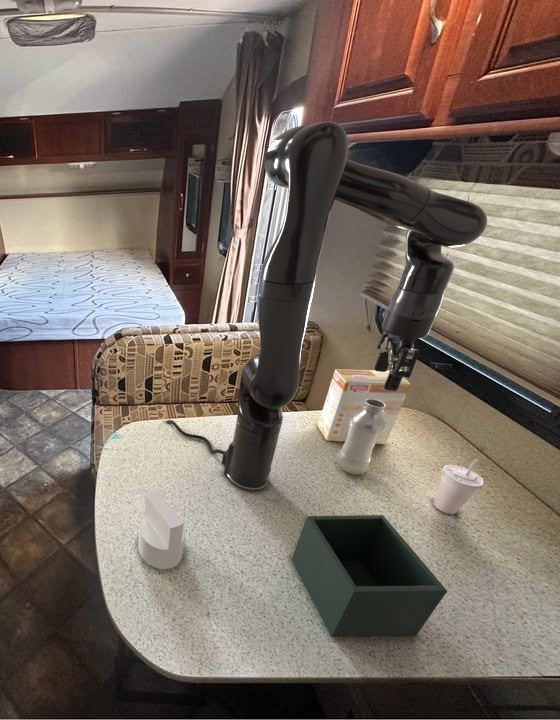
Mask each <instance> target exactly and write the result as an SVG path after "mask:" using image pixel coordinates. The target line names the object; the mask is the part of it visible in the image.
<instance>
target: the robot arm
mask: <svg viewBox="0 0 560 720" xmlns="http://www.w3.org/2000/svg"><path fill="white" fill-rule="evenodd" d="M348 138H349V137H348V134H347V132H346V131H345V129H344V127H342V125H340V124H339V123H337V122H336V121H330V120H328V121H319V122H315V123H309V124H303V125H299V126H295V127H292V128H290V129H287V130H285V131H284V132H282V133H280V134H279V135H278V136H277V137H276V138H274V139H273V141H272V142H271V143H270V145H269V147H268V148H267V150H266V153H265V157H264V169H265V173H266V175H267V177H268V178H269V180H270V181H271V182H272V183H273V184H275V185H277V186H279V187H282V188H284V189H287V198H286V205H285V212H284V217H283V221H282V225H281V227H280V230H279V232H278V234H277V236H276V238H275V240H274V241H273V243H272V245H271V246H270V249H269V251H268V252H267V254H266V255H265V258H264V260H263V261H262V265H261V269H260V273H259V281H258V287H257V288H258V289H257V297H256V309H257V311H256V312H257V321H258V329H259V330H258V331H259V338H260V348H259V350H260V351H259V353H258V354H255V355H254V356H252V357H251V358H249V359H248V361H247V362H246V363H245V365H244V366H243V369H242V371H241V375H240V382H239V388H238V395H237V417H236V423H235V428H234V433H233V438H232V442H231V443H230V444H228V448H227V449H226V451H225V450H222V449H218V448H215V449H214V448H213V446H212V444H211V442H210V440H209V439H207V437H205V436H202V435H199V434H191V433H188V432H186V431H184V430H183V429H182V428H181V427H180V426H179V425H178V424H177V423H176V422H175V421H174V420H172V419H168V420H166V421H165V423H166V424H171V425H173V426H174V428H175V429H176V430H177V431H178V432H179V434H181V435H182V436H184V437H187V438H191V439H198V440H202V441H204V442H205V443H206V445H207V448H208V450H209V452H210V453H211V454H212V455H213V454H214V455H215V454H220V455H222V458H221V465H223V466H224V471H223V475H224V476H225V477H227V479H228V481H230V482H231V484H233V485H234V486H235V487H237V488H239V489H241V490H244V491H248V492H259V491H261V490H263V489H265V488H266V487H267V485H268V481H269V477H270V475H271V471H272V470H271V469H272V463H273V460H274V456H275V452H276V449H277V445H278V441H279V437H280V433H281V429H282V426H283V422H284V414H283V409H282V408H283V407H285V406H287V405H288V404H290V403H291V401H293V399H294V398H295V396H296V395H297V393H298V389H299V383H300V382H299V381H300V366H301V355H302V346H303V342H304V337H305V333H306V328H307V324H308V320H309V319H308V318H309V314H310V310H311V304H312V301H313V297H314V293H315V288H316V282H317V278H318V271H319V265H320V260H321V255H322V251H323V246H324V242H325V241H324V240H325V237H326V234H327V233H326V232H327V227H328V223H329V220H330V216H331V213H332V209H333V206H334V203H335V201H336V202H339V203H341V204H343V205H346V206H348V207H350V208H352V209H354V210H357V211H358V212H360V213H363V214H365V215H367V216H369V217H371V218H373V219H376V220H378V221H380V222H382V223H384V224H387V225H389V226H391V227H394V228H397V229H402V230H406V237H405V251H404V262H405V263H404V268H403V270H402V273H401V276H400V279H399V282H398V284H397V287H396V289H395V290H394V292H393V294H392V297H391V299H390V302H389V304H388V307H387V310H386V313H385V316H384V319H383V322H382V324H381V329H382V330H383V331H382V332H381V336H380V338H379V341H378V343H377V346H376V349H377V350H378V351H377V355H378V357H377V360H376V362H375V365H374V367H373V368H374V370H375V371H380V372H386V371H389V372H390V373H389V374H388V377H387V380H386V382H385V385H384V388H385V389H386V390H391V391H397V390H398V387H399V385H400V383H401V380H402V378H405V379H409V378H410V377H411V375H412V373H413V371H414V368H415V365H416V363H417V361H418V358H419V355H420V350H419V349H415V344H414V343H415V341H416V340H418V339H419V340H420V339H424V338H426V337H428V335H429V334H430V331H431V329H432V326H433V324H434V321H435V319H436V317H437V315H438V313H439V310H440V308H441V306H442V302H443V299H444V295H445V292H446V290H447V287H448V284H449V283H450V280H451V278H452V275H453V273H454V269H455V263H454V262H453V261H452V260H451V259H449V258H447V257H446V256H444V255H443V252H442V247H445V248H446V247H447V248H458V247H459V248H460V247H463V246H466V245H469V244H471V243H473V242H475V241H476V240H477V239H479V238H480V237H481V236H482V235H483V233H484V232H485V230H486V228H487V225H488V216H487V213H486V212H485V210H484V209H483V208H482V207H481V206H479V205H478V204H475V203H473V202H470V201H468V200H464V199H461V198H458V197H454V196H451V195H447V194H443V193H440V192H437V191H434V190H432V189H431V188H430V187H427V186H426V185H423V184H421V183H419V182H417V181H415V180H413V179H411V178H408V177H407V176H404V175H401V174H398V173H395V172H393V171H388V170H385V169H380V168H377V167H373V166H369V165H365V164H362V163H359V162H357V161H353V160H352V159H351V160H350V159H348V154H349V139H348ZM388 368H389V370H388Z"/></svg>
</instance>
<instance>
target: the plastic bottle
mask: <svg viewBox="0 0 560 720" xmlns="http://www.w3.org/2000/svg"><path fill="white" fill-rule="evenodd" d="M362 408H363V409H361V410H359V411H357V412H355V413H354V414H353V415H352V416H351V419H350V426H349V432H348V436H347V439H346V441H345V442H344V443H343V445H342V446H341V448H340V449H339V451H338V453H337V455H336V464H337V465H338V467H339V468H340V469H341V470H342V471H344V472H346V473H348V474H351V475H362V474H365V473H366V472H367V471H368V470H369V468H370V464H371V457H372V453H373V449H374V447H375V445H376V444H375V443H376V441H377V439H378V437H379V436H380V434H381V433H382V432H383V430H384V428H385V421H384V419H383V417H382V415H381V414H382V413H383V412H384V408H385V404H384V403H383V402H381V401H379V400H375V399H367V400H366V401H365V403H364V404H363V406H362Z"/></svg>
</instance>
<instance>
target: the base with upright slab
mask: <svg viewBox="0 0 560 720" xmlns="http://www.w3.org/2000/svg"><path fill="white" fill-rule="evenodd" d="M144 498H145V499H144V515H143V516H142V517H141V519H140V522H139V527H138V552H139V554H140V556H141V558H142V559H143V561H144V562H145V563H146V564H148V565H149V566H150V567H153V568H155V569H159V570H169V569H173V568H175V567H176V566H178V565H179V564H180V562H181V561H182V559H183V556H184V548H185V542H186V541H185V540H186V529H185V526H184V525H185V521H184V520H183V519H182V518H181V516H180V515H179V514H178V513H177V511H176V510H175V509H174V508H173V506H172V505H171V504H170V503H169V501H168V500H167V499H166V498H165V497H164V495H163V494H162V493H161V492H160V491H159V490H158V489H155V490H152V491H150V492H148V493H146V494H145V496H144Z"/></svg>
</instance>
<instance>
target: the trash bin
mask: <svg viewBox="0 0 560 720" xmlns="http://www.w3.org/2000/svg"><path fill="white" fill-rule="evenodd" d="M291 562H292V563H293V566H294V567H295V569H296V571H297V573H298V575H299V577H300V579H301V582H302V583H303V585H304V587H305V589H306V590H307V593H308V594H309V596H310V598H311V600H312V602H313V604H314V606H315V608H316V610H317V612H318V614H319V615H320V618H321V619H322V621H323V623H324V625H325V628H326V629H327V631H328V633H329V635H330V636H331V638H332V637H333V638H337V637H340V638H342V637H343V638H344V637H347V638H349V637H351V638H352V637H353V638H355V637H357V638H358V637H359V638H360V637H369V638H371V637H373V638H374V637H376V638H379V637H381V638H382V637H405V638H406V637H409V638H410V637H417V636H418V634H419V633H420V631H421V630H422V628H423V627H424V625H425V624H426V623H427V622H428V620H429V618H430V617H431V616H432V614H433V613H434V611H435V610H436V608H437V607H438V606H439V604H440V603H441V602H442V600H443V598H444V597H445V595H446V594H447V593H448V590H447V588H446V587H445V586H444V585H443V583H441V581H440V580H439V579H438V578H437V577H436V575H435V574H434V573H433V572H432V571H431V570H430V568H429V567H428V566H427V565H426V564H425V562H424V561H423V560H422V559H421V558H420V557H419V556H418V554H417V553H416V551H414V550H413V549H412V547H411V546H410V545H409V544H408V542H407V541H406V540H405V539H404V538H403V536H402V535H401V533H399V532H398V530H397V529H396V528H395V527H394V526H393V525H392V524H391V522H390V521H389V520H388V519H387V518H386V517H385V515H383V514H362V515H361V514H359V515H357V514H355V515H306V517H305V519H304V522H303V525H302V528H301V531H300V534H299V537H298V539H297V542H296V546H295V548H294V551H293V554H292V556H291Z"/></svg>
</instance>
